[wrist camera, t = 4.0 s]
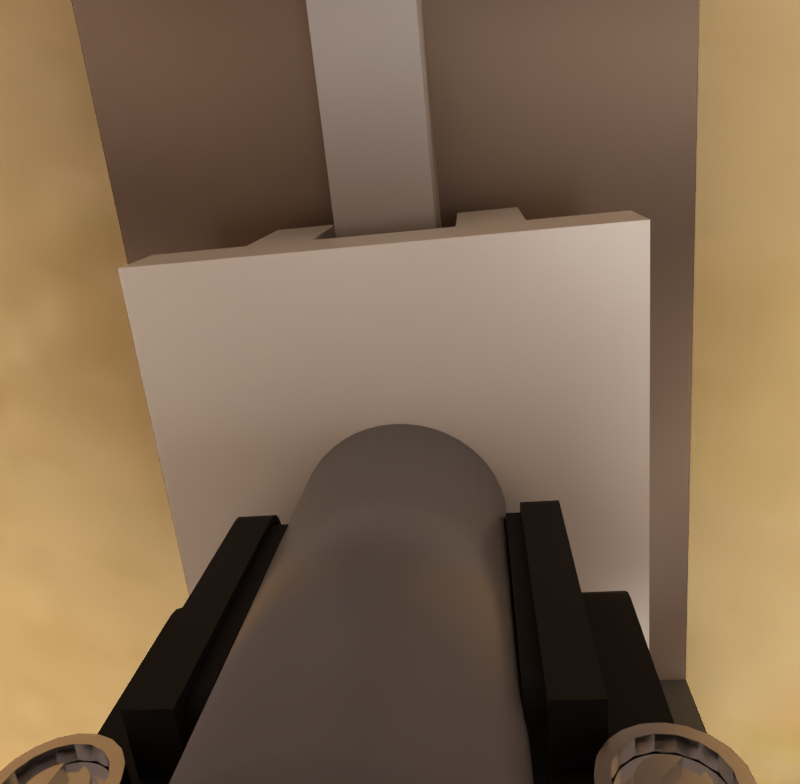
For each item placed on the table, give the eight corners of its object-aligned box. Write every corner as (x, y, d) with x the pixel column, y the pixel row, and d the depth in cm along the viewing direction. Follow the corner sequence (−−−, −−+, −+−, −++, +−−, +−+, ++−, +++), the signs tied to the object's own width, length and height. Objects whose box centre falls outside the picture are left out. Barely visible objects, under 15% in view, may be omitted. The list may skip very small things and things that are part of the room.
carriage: (197, 237, 13) (-318, 434, 5) (606, 198, 12) (919, 348, 4) (268, 624, 16) (23, 1226, 7) (612, 613, 15) (809, 1274, 6)
